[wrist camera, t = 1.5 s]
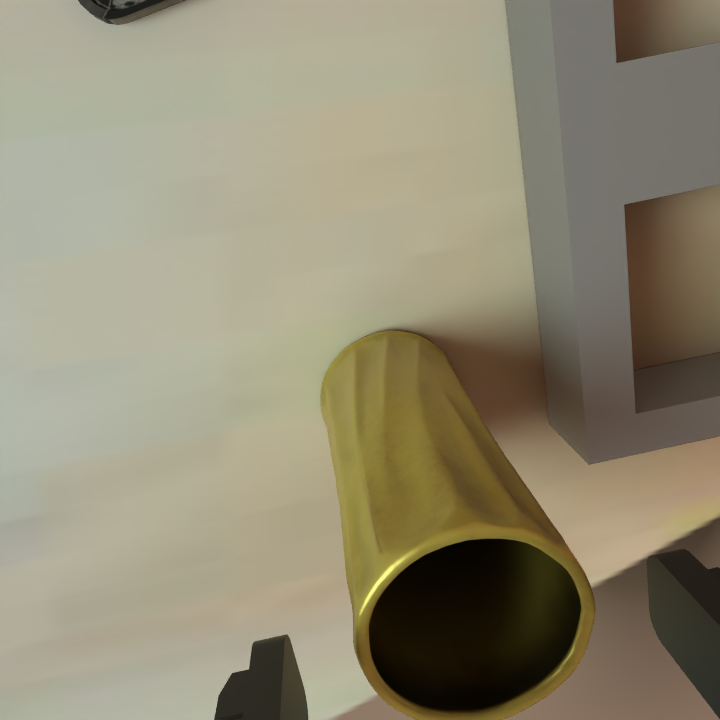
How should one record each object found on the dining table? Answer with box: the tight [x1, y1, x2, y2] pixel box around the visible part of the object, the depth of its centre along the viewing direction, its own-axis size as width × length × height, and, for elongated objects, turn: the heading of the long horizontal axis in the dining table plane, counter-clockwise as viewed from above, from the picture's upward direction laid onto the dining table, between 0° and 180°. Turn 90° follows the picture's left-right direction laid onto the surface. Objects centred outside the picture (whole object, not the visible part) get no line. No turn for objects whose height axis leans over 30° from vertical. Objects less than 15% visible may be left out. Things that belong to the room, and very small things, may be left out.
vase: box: [321, 331, 596, 720], centre depth 19 cm, size 6×6×14 cm
